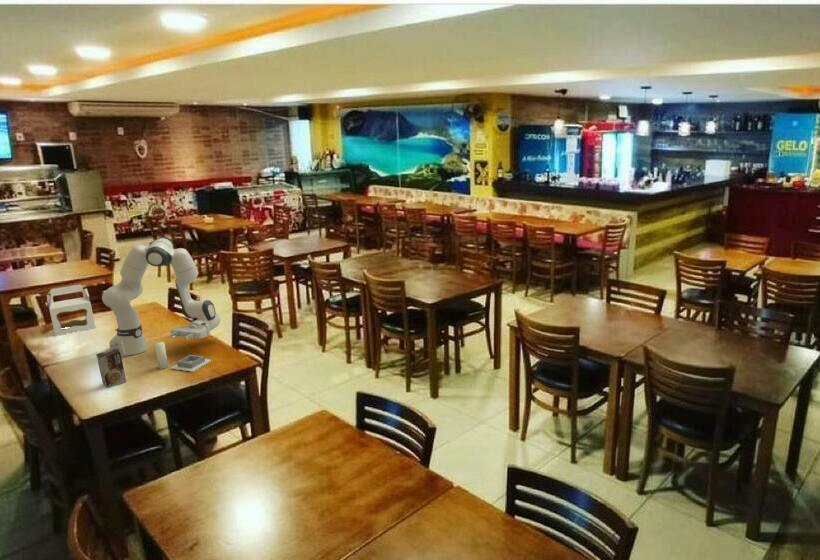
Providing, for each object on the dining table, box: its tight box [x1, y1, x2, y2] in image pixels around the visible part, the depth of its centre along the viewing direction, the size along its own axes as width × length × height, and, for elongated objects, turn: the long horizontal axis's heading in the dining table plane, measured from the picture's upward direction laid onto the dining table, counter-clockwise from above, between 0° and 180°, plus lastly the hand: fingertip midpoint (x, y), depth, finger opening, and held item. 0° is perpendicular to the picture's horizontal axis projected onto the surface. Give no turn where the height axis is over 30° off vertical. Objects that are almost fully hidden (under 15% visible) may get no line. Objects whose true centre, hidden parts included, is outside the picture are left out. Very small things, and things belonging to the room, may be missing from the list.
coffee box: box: [96, 349, 127, 389], centre depth 267 cm, size 9×6×16 cm
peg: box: [154, 341, 169, 370], centre depth 284 cm, size 5×5×13 cm
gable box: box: [46, 283, 96, 337], centre depth 345 cm, size 22×13×28 cm, turn 124°
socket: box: [170, 354, 213, 373], centre depth 286 cm, size 14×14×4 cm
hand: (178, 337), depth 294 cm, fingers open, 8 cm apart
